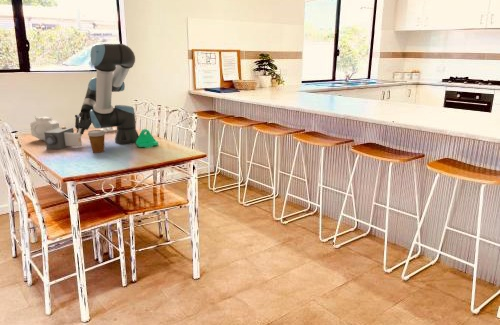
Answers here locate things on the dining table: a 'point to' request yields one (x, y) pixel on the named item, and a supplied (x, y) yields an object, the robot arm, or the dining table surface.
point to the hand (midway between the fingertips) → (78, 138)
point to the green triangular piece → (146, 139)
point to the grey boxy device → (56, 137)
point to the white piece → (108, 129)
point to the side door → (72, 139)
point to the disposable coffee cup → (97, 140)
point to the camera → (42, 126)
